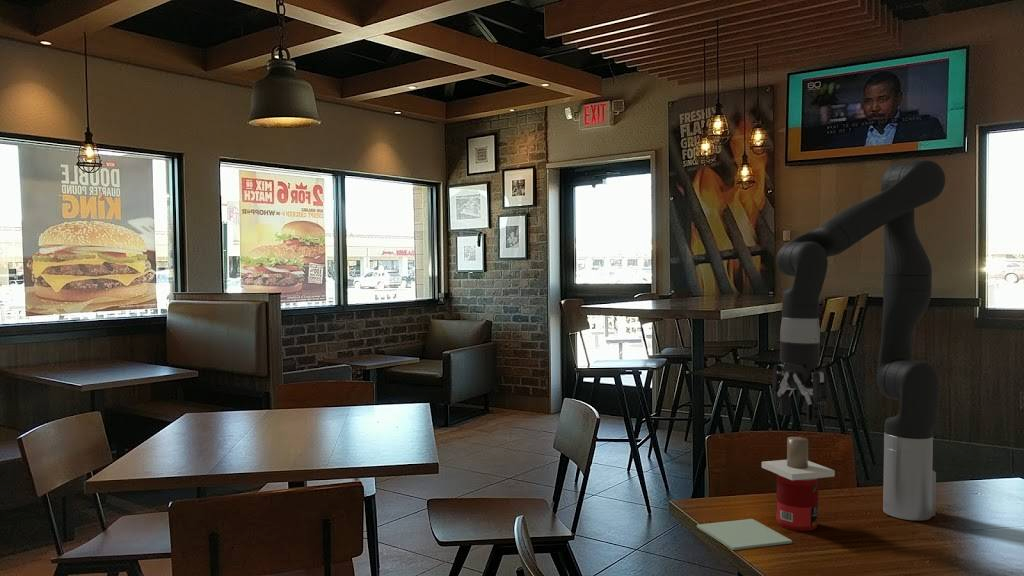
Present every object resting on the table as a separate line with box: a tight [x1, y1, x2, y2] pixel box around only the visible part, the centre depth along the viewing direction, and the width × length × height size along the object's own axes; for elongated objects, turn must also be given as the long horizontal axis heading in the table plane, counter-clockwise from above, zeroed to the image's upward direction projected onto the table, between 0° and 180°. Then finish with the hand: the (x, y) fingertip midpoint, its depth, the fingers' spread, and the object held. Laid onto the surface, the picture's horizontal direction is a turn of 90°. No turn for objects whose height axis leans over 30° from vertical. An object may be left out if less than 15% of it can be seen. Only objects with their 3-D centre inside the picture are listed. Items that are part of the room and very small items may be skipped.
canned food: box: [775, 474, 819, 532], centre depth 155 cm, size 8×8×11 cm
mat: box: [696, 518, 793, 551], centre depth 149 cm, size 13×13×1 cm
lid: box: [761, 436, 836, 480], centre depth 155 cm, size 10×10×7 cm
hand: (798, 418), depth 155 cm, fingers open, 8 cm apart
